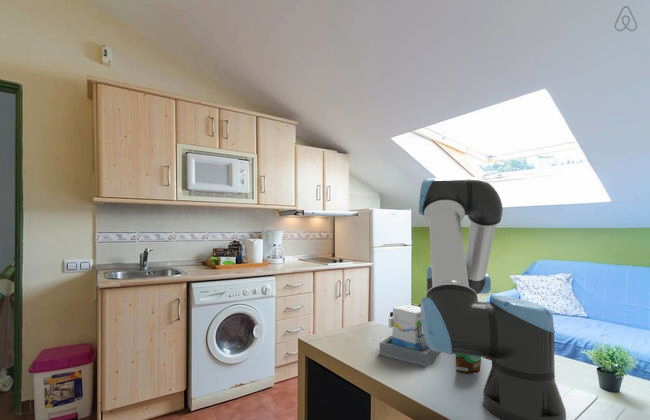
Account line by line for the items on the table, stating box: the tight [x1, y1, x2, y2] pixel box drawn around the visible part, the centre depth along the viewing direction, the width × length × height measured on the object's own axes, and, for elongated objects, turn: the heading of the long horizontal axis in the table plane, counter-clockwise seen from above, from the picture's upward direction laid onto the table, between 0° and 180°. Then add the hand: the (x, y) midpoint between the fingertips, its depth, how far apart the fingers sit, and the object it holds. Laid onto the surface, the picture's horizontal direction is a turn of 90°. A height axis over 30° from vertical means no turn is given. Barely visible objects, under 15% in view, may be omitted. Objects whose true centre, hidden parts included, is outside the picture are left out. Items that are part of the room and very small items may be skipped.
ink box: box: [391, 304, 428, 351], centre depth 102 cm, size 9×8×12 cm
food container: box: [455, 354, 482, 375], centre depth 91 cm, size 12×6×10 cm, turn 143°
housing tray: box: [378, 335, 441, 367], centre depth 102 cm, size 14×14×4 cm
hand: (405, 326), depth 99 cm, fingers closed on ink box, 10 cm apart
